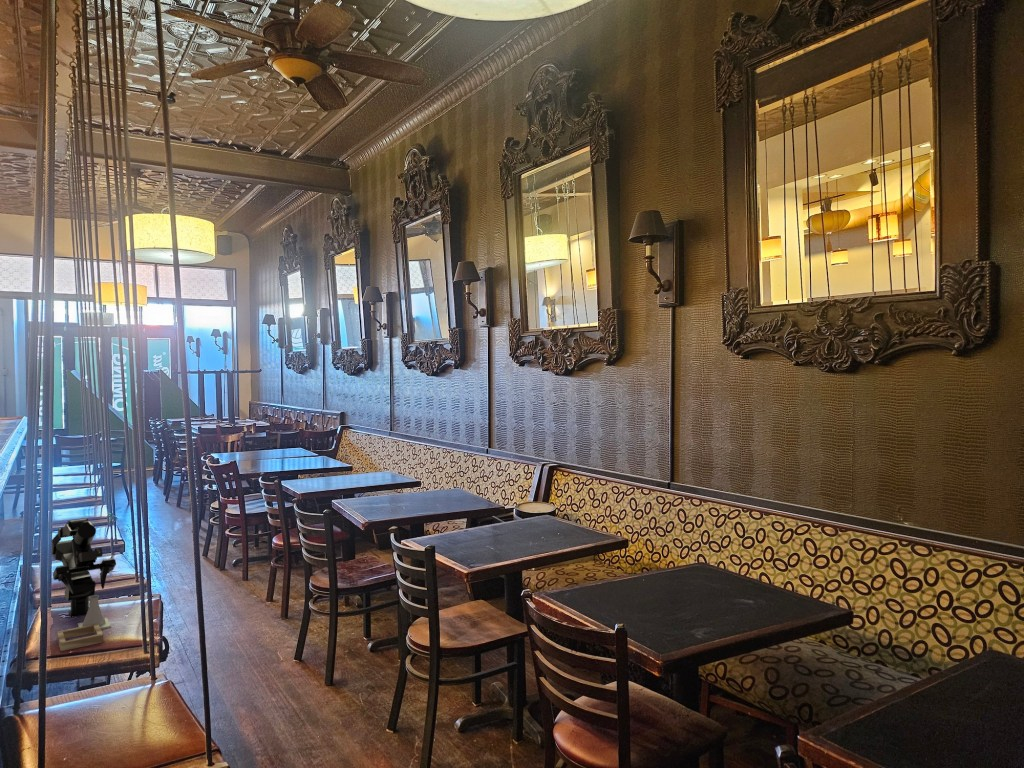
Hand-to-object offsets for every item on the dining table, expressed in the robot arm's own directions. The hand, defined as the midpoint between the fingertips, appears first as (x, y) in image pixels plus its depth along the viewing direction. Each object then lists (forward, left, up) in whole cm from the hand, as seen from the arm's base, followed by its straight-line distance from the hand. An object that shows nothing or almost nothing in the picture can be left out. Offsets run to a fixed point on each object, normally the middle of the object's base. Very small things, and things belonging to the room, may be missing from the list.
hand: (88, 590), depth 243 cm
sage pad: (+2, +1, -12) cm, 13 cm away
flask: (+2, +1, -12) cm, 12 cm away
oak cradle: (+13, -4, -12) cm, 19 cm away
